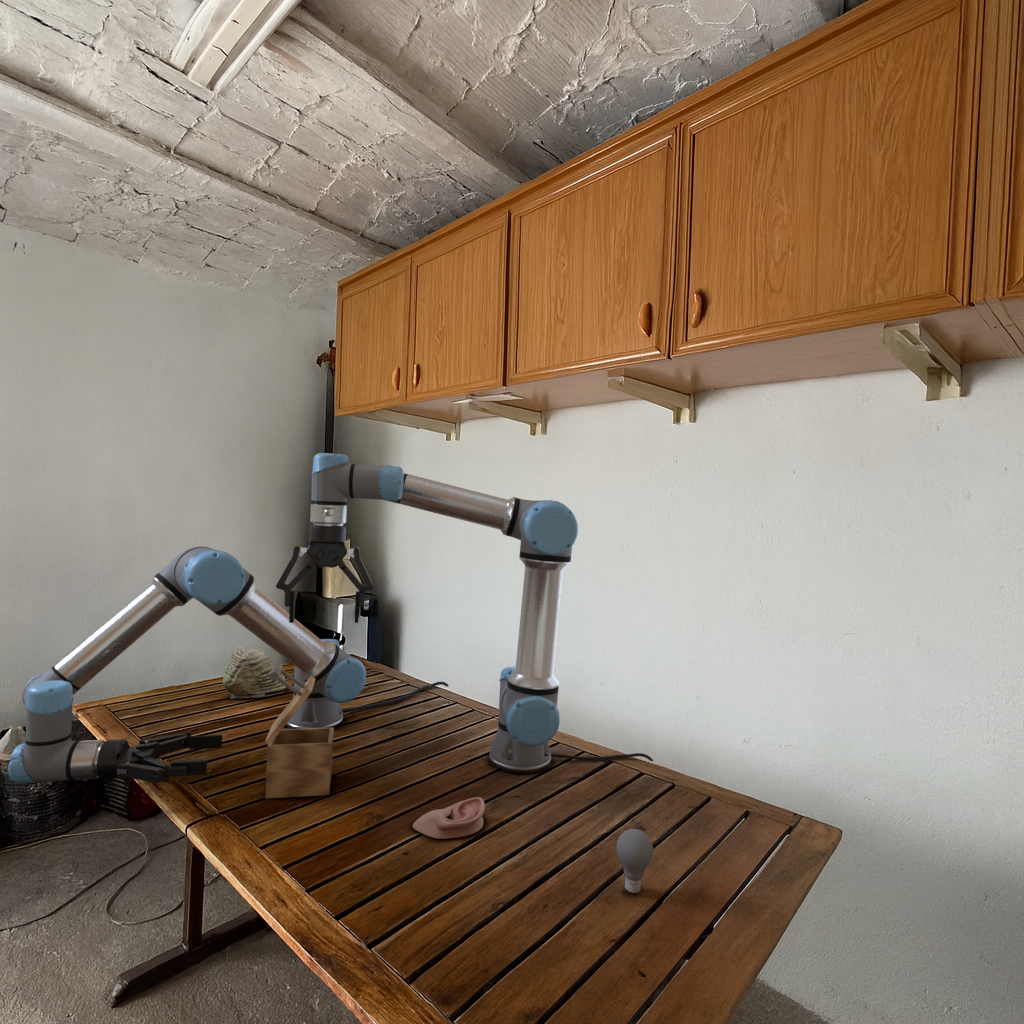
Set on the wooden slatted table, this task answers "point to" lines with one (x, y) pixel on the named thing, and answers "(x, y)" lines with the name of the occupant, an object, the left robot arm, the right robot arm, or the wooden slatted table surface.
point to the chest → (300, 763)
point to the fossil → (250, 674)
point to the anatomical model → (453, 820)
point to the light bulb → (634, 857)
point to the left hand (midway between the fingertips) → (214, 753)
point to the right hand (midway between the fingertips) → (324, 621)
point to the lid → (293, 705)
